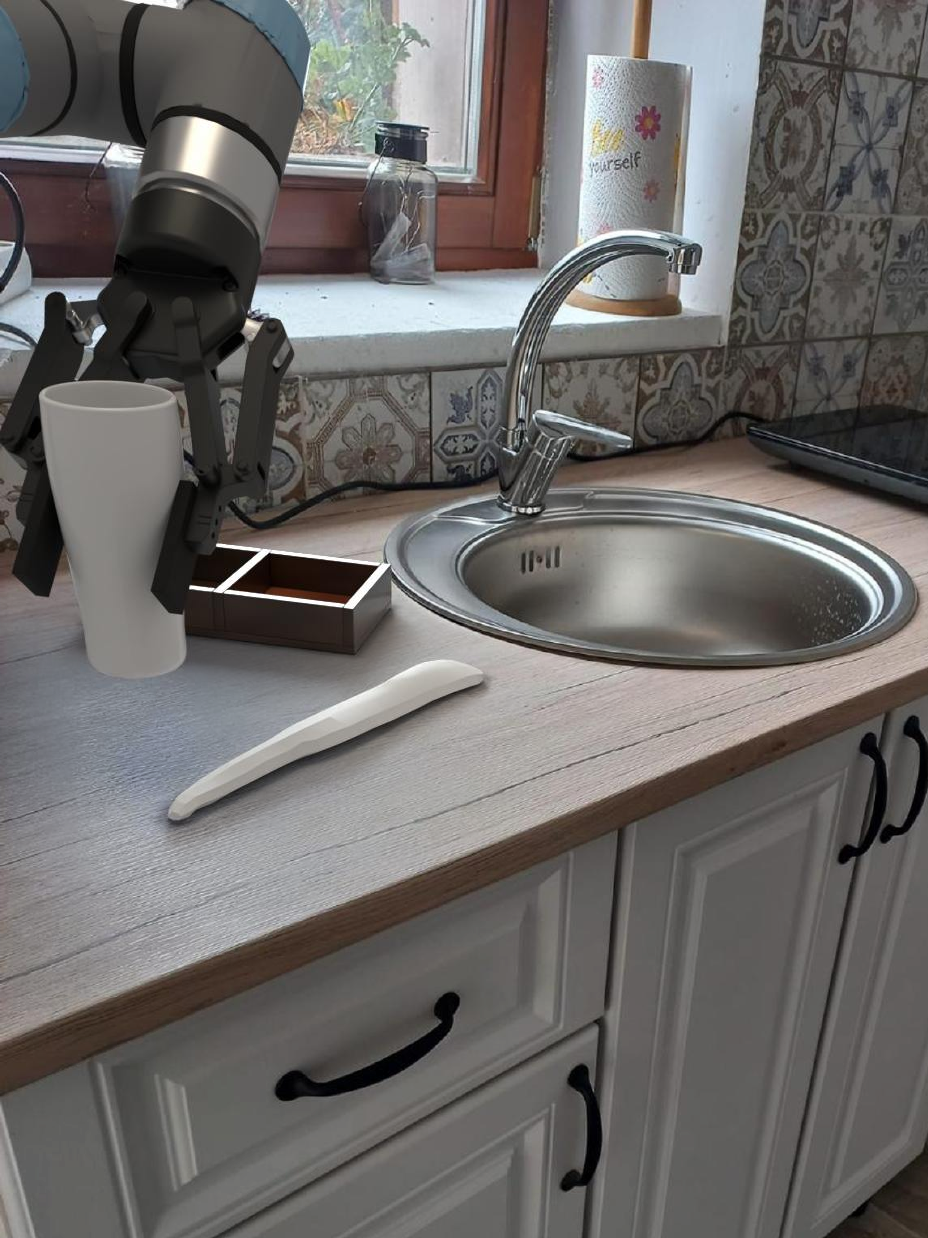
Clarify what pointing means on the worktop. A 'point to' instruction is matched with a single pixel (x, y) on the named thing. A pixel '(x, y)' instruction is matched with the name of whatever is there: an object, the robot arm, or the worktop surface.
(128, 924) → the worktop surface
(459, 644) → the worktop surface
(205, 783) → the white long thin piece
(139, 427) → the drinking glass
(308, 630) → the divided tray
